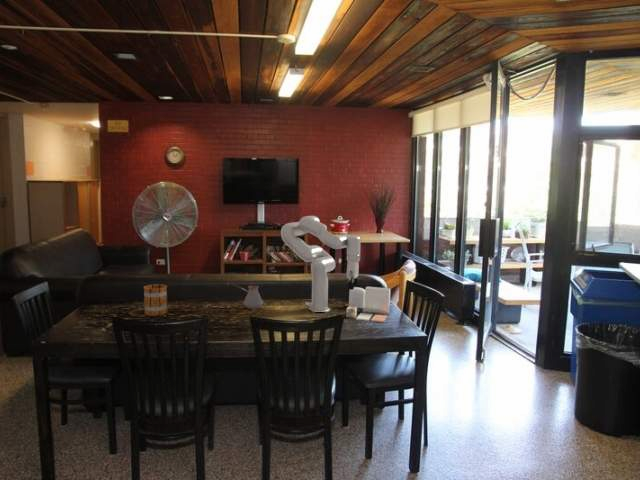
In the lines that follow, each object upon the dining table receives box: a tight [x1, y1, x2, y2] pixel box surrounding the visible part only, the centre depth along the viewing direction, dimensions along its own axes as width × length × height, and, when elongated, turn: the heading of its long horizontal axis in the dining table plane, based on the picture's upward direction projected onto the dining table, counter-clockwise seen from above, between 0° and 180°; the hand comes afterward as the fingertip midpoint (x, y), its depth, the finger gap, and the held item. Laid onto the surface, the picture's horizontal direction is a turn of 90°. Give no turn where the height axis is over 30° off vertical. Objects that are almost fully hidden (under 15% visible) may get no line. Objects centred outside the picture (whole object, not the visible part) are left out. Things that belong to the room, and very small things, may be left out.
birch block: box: [345, 306, 358, 319], centre depth 283 cm, size 5×5×5 cm
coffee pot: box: [227, 281, 264, 310], centre depth 297 cm, size 21×12×15 cm, turn 87°
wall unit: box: [361, 286, 393, 316], centre depth 292 cm, size 16×8×14 cm, turn 72°
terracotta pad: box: [370, 314, 388, 323], centre depth 278 cm, size 7×12×1 cm, turn 162°
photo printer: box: [348, 286, 365, 310], centre depth 303 cm, size 10×4×12 cm, turn 67°
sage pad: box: [355, 312, 374, 322], centre depth 281 cm, size 7×12×1 cm, turn 162°
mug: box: [143, 283, 168, 316], centre depth 284 cm, size 20×14×15 cm
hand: (352, 287), depth 281 cm, fingers open, 9 cm apart
